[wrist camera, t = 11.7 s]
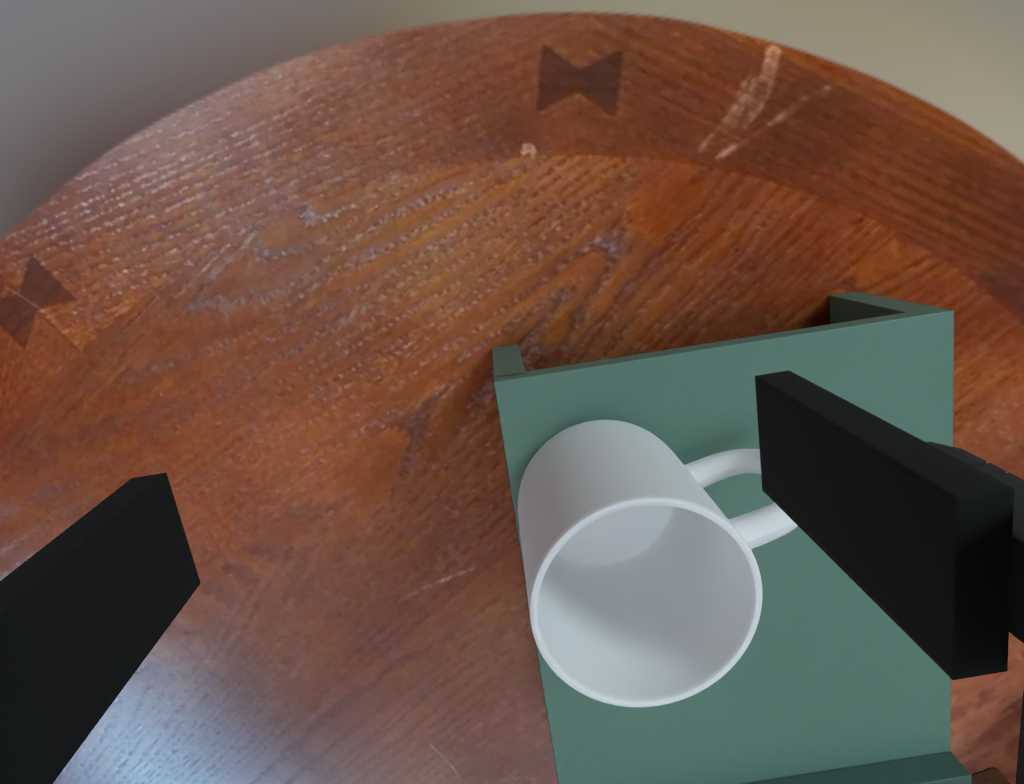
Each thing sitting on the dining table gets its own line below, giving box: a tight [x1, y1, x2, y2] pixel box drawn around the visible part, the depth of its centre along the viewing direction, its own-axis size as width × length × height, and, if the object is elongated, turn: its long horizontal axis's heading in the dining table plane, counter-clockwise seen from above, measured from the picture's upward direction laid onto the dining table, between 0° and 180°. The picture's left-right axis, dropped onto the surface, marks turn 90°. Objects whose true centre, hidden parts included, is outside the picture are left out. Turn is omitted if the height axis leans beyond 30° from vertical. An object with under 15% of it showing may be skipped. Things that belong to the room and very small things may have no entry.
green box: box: [492, 291, 972, 784], centre depth 39 cm, size 26×22×11 cm
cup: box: [518, 420, 798, 707], centre depth 29 cm, size 8×12×10 cm
